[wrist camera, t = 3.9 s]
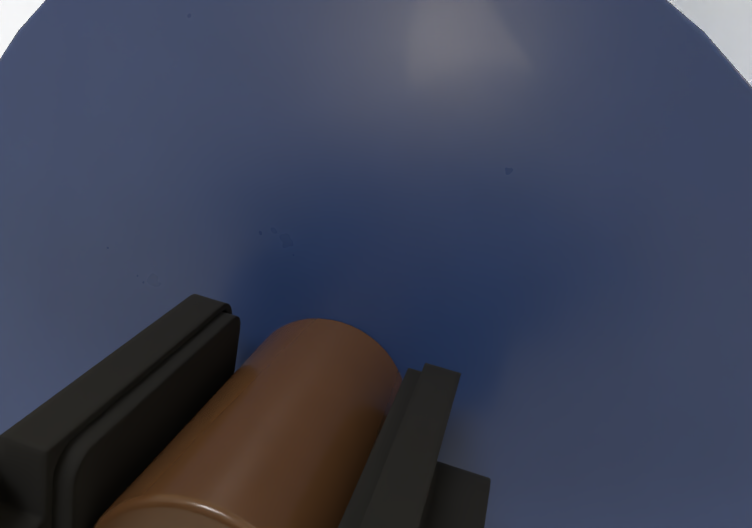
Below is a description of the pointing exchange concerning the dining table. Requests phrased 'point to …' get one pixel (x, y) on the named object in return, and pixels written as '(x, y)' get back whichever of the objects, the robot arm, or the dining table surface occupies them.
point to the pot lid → (394, 245)
